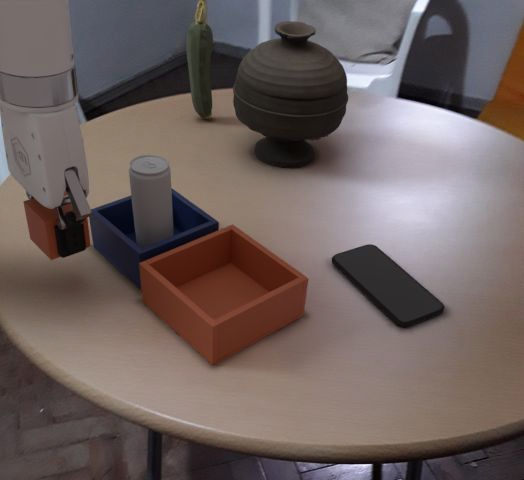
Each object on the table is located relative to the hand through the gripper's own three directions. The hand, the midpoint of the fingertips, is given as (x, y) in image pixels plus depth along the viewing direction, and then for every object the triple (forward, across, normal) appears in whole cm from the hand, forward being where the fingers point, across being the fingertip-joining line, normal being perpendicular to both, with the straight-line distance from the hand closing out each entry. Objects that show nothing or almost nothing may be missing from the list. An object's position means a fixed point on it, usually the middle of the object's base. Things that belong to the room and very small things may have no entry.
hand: (60, 239), depth 73 cm
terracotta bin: (+5, +16, +12) cm, 20 cm away
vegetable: (+6, -27, +41) cm, 49 cm away
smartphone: (+4, +25, +31) cm, 40 cm away
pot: (+5, -9, +45) cm, 46 cm away
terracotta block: (0, 0, 0) cm, 0 cm away
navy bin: (+6, +2, +12) cm, 13 cm away
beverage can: (+5, +2, +12) cm, 13 cm away
